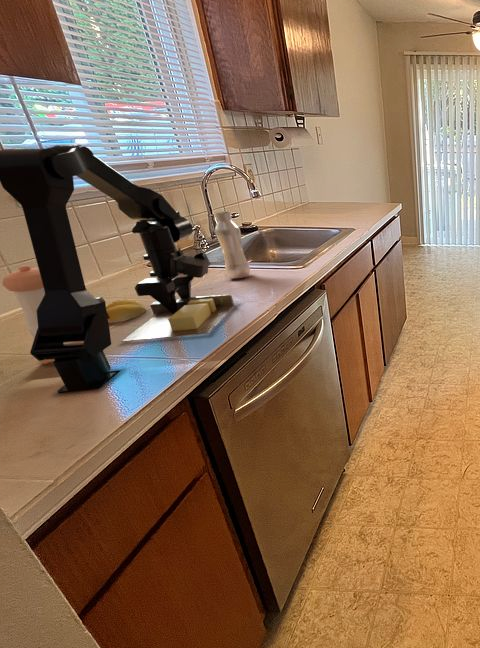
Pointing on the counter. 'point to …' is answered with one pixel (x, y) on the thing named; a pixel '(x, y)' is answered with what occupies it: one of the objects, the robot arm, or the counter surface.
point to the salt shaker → (28, 295)
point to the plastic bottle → (231, 246)
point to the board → (162, 328)
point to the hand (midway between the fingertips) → (182, 308)
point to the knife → (218, 299)
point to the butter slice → (203, 301)
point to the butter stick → (189, 317)
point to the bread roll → (124, 310)
